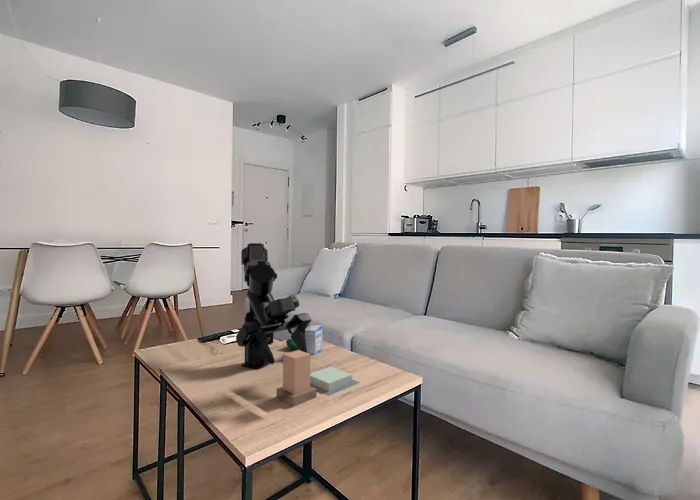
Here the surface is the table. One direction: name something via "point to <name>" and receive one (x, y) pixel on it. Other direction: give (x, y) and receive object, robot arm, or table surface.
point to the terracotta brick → (296, 371)
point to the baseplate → (335, 389)
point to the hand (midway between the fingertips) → (290, 358)
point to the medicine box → (313, 339)
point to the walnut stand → (296, 396)
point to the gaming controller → (291, 344)
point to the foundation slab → (330, 378)
